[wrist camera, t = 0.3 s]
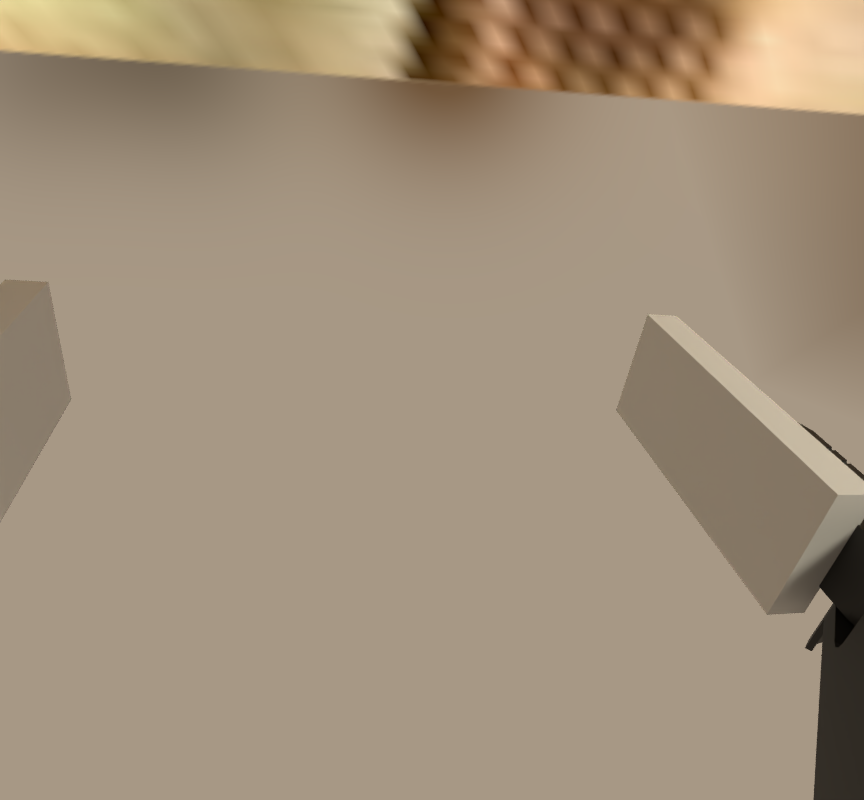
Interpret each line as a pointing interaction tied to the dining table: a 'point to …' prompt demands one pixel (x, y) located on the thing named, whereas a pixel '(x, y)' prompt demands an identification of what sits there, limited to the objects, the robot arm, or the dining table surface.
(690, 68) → the dining table surface
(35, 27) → the dining table surface
